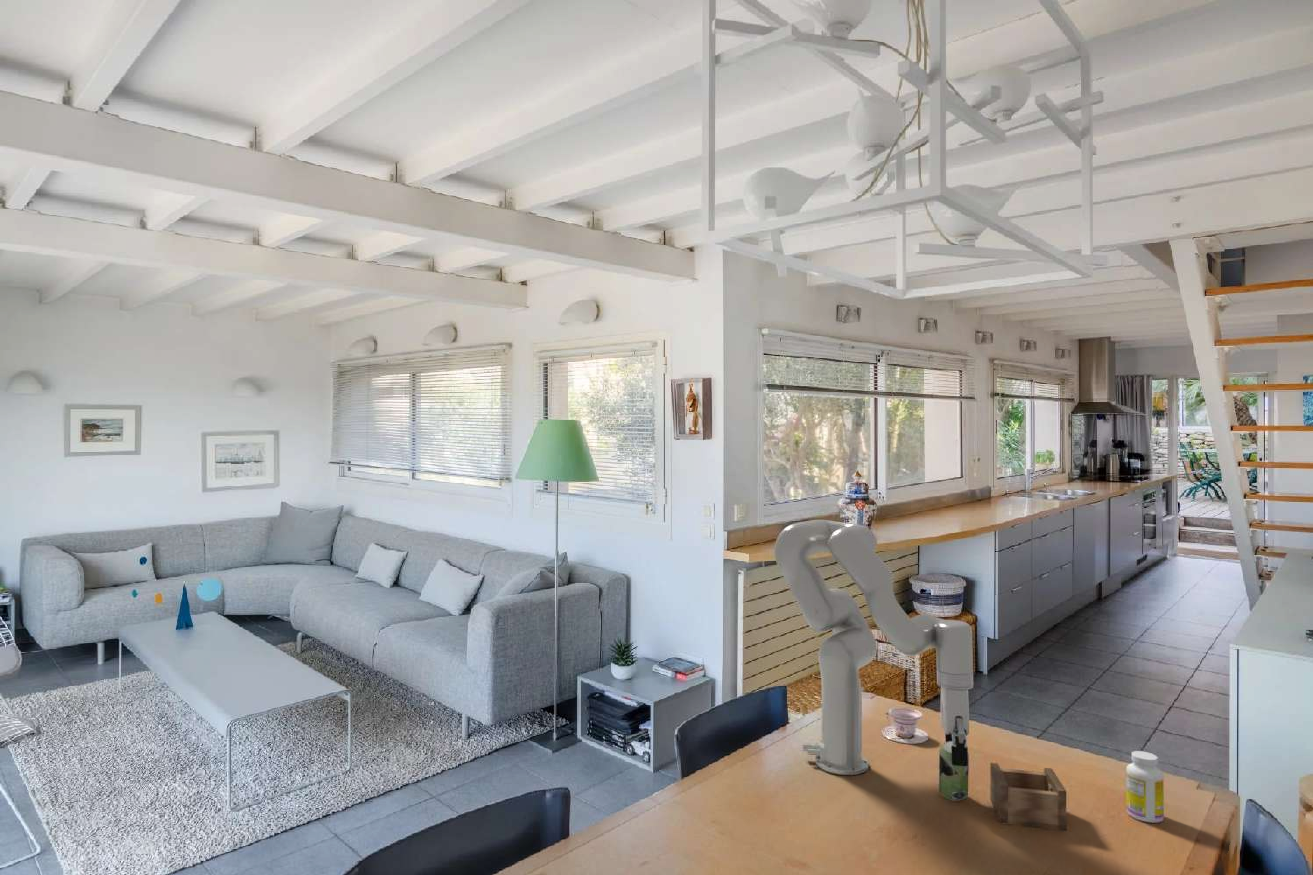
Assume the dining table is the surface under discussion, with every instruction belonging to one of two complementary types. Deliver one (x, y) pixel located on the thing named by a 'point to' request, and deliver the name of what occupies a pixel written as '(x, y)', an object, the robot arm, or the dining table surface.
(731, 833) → the dining table surface
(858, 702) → the robot arm
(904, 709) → the teacup
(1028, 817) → the holder
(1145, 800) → the supplement bottle
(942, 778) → the beverage can
